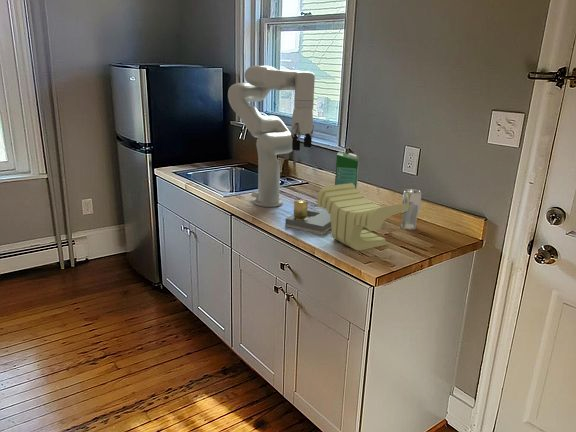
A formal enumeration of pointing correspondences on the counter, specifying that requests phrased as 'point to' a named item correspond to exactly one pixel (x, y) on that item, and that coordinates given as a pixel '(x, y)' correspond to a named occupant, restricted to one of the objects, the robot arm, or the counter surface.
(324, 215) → the board
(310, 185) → the counter surface
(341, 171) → the milk carton
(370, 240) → the slatted curved stool
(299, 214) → the peg
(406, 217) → the beer glass
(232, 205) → the counter surface
